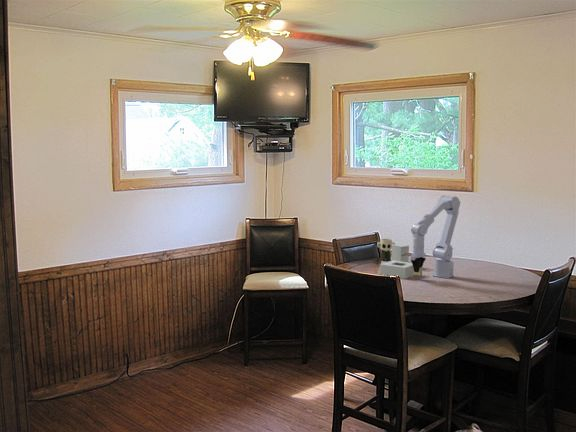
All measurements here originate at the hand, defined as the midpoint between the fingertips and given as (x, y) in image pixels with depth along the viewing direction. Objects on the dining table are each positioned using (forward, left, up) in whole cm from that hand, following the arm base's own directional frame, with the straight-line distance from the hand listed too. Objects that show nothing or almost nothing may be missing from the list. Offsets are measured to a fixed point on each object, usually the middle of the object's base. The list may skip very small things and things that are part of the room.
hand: (417, 271), depth 332 cm
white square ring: (+13, -4, -4) cm, 14 cm away
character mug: (+38, -37, -4) cm, 53 cm away
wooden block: (0, 0, -2) cm, 2 cm away
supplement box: (+23, -26, -4) cm, 35 cm away
